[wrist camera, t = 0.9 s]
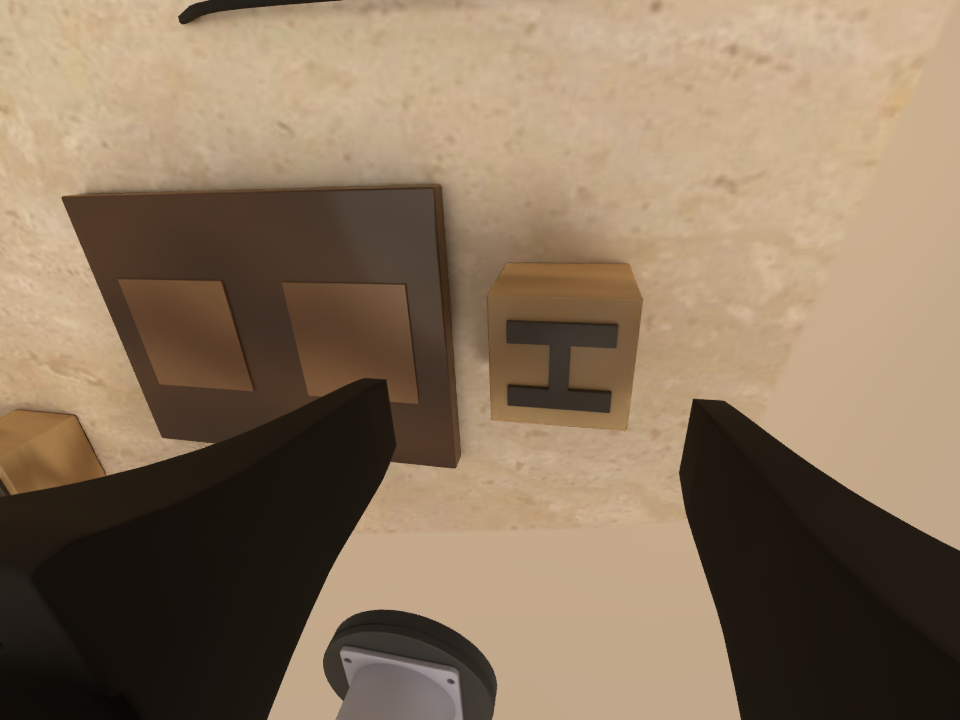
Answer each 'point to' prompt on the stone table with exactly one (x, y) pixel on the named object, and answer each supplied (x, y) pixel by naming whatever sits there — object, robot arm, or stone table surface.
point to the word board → (279, 304)
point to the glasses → (232, 6)
